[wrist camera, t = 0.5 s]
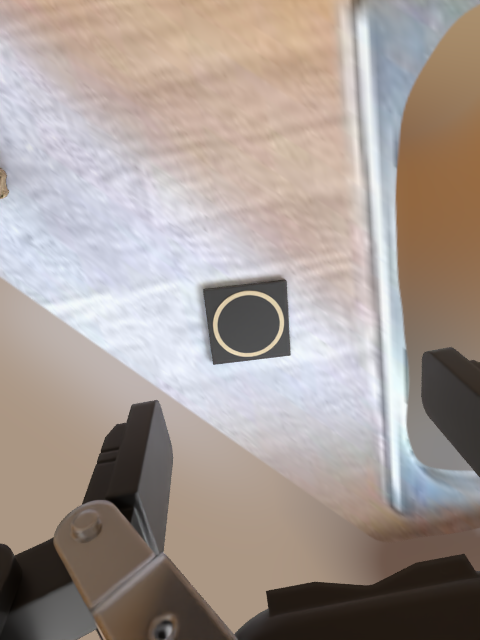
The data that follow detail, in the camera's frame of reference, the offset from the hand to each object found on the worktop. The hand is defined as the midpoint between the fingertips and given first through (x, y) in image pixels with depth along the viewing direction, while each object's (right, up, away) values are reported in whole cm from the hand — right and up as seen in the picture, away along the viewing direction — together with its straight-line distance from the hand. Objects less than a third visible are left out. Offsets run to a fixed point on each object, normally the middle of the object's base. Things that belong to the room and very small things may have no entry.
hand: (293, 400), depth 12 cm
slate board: (-1, +2, +26) cm, 26 cm away
